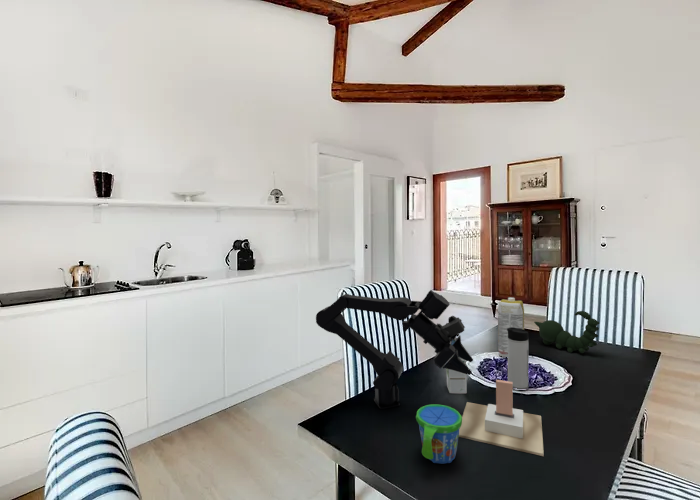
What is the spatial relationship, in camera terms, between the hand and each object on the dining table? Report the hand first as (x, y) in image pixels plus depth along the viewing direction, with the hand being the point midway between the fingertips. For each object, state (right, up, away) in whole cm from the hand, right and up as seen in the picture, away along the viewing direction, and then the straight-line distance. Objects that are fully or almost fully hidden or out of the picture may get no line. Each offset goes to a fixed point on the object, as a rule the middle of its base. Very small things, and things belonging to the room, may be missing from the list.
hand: (471, 367), depth 101 cm
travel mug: (+21, -13, +18) cm, 31 cm away
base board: (+7, -15, -5) cm, 17 cm away
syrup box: (+1, -13, +17) cm, 22 cm away
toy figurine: (+57, -9, +51) cm, 76 cm away
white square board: (+7, -15, -5) cm, 17 cm away
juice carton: (+31, -10, +44) cm, 55 cm away
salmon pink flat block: (+7, -11, -5) cm, 14 cm away
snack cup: (-13, -16, -15) cm, 26 cm away
